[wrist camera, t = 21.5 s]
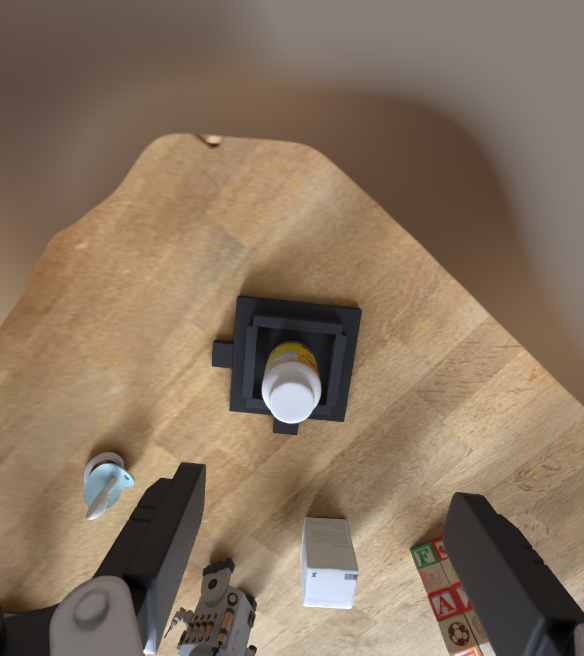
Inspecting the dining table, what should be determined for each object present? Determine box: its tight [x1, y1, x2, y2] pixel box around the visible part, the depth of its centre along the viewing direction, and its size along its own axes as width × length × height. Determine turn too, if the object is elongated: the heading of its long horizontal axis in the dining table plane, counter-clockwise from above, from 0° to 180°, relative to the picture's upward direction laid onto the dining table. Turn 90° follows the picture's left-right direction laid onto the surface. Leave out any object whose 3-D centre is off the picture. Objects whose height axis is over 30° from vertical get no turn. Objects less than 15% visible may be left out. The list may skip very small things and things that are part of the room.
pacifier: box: [83, 452, 135, 520], centre depth 39 cm, size 7×6×6 cm
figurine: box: [164, 559, 257, 656], centre depth 39 cm, size 9×12×15 cm
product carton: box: [301, 517, 358, 609], centre depth 41 cm, size 6×6×7 cm
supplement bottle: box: [262, 341, 321, 423], centre depth 32 cm, size 6×6×10 cm
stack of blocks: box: [410, 537, 496, 656], centre depth 41 cm, size 21×6×12 cm, turn 26°
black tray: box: [212, 296, 362, 435], centre depth 37 cm, size 16×16×2 cm
